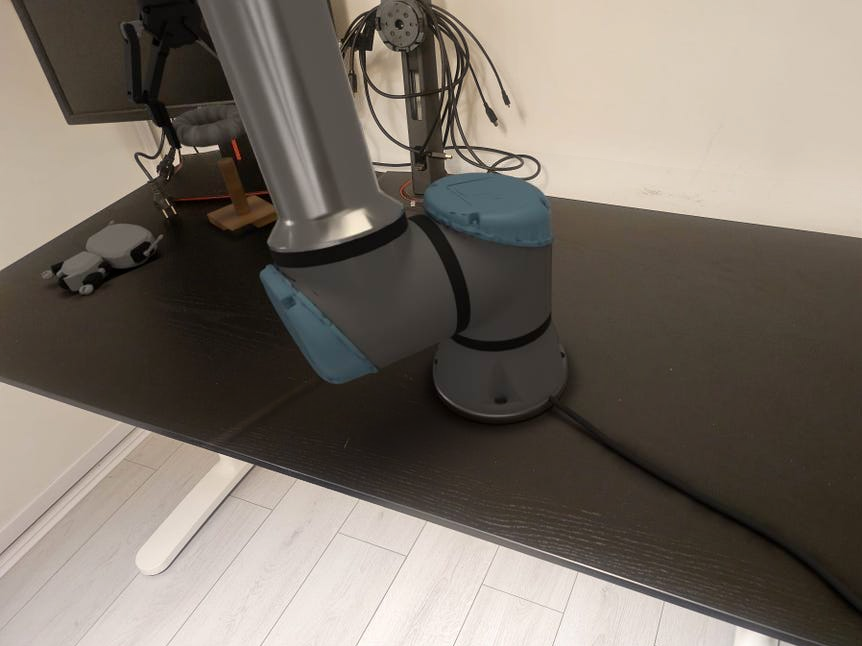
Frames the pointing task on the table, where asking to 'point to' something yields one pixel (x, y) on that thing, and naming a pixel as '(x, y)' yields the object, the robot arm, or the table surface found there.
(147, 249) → the robot toy
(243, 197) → the stand
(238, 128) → the ring
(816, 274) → the table surface
